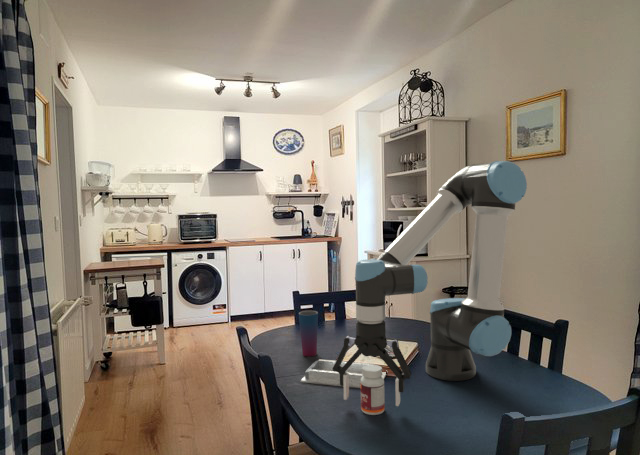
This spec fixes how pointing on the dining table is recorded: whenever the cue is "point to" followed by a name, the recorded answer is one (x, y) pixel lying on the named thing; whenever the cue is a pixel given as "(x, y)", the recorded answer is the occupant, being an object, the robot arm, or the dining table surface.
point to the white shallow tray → (334, 373)
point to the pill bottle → (372, 390)
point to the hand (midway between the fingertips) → (371, 400)
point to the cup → (308, 332)
